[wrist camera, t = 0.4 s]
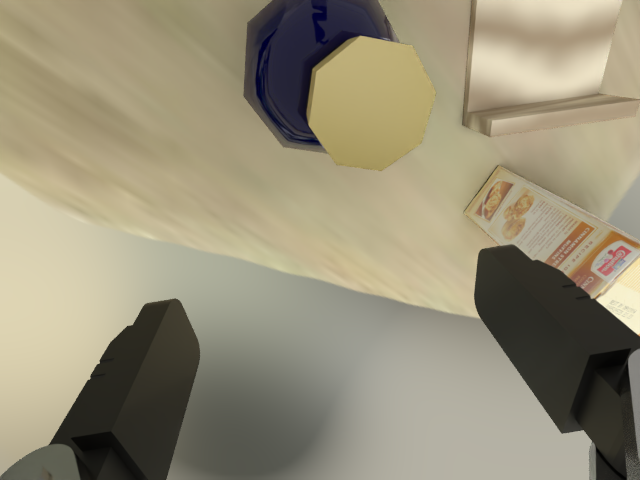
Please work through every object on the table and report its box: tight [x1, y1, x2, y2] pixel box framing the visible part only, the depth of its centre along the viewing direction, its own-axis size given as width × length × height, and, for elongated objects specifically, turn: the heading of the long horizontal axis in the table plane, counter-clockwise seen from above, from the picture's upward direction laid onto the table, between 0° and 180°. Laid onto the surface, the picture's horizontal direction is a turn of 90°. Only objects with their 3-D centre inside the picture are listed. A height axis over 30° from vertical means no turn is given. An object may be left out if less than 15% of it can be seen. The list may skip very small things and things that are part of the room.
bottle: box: [244, 0, 436, 171], centre depth 21 cm, size 9×9×30 cm
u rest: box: [462, 0, 640, 137], centre depth 31 cm, size 16×14×6 cm
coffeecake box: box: [464, 166, 640, 336], centre depth 35 cm, size 15×7×20 cm, turn 64°
